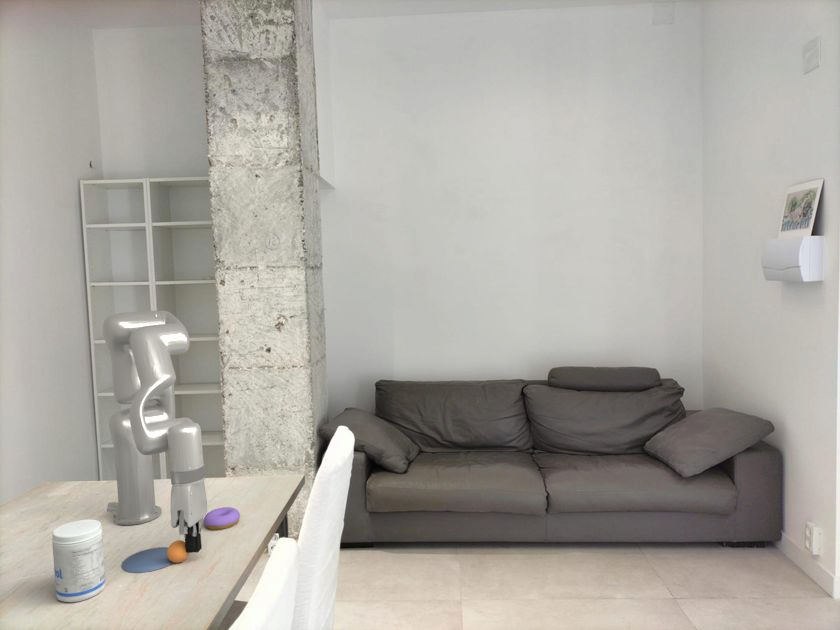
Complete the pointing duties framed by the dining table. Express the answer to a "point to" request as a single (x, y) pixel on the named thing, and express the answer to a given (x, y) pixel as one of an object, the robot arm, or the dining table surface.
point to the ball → (177, 551)
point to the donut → (221, 518)
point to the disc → (147, 560)
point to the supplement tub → (78, 560)
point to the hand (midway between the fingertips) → (193, 550)
